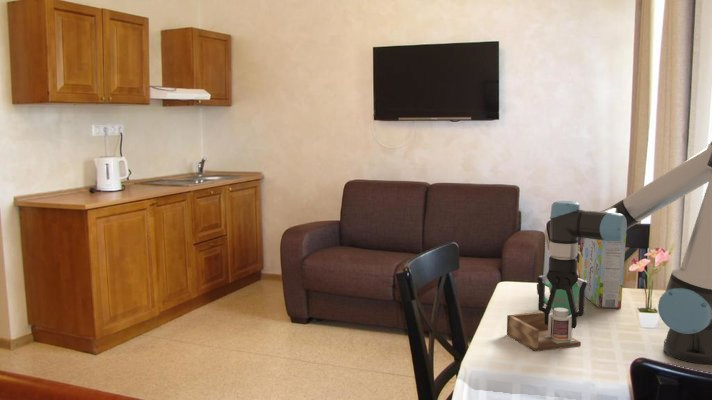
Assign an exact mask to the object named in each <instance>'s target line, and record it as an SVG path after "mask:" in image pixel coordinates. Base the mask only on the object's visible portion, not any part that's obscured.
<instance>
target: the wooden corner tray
mask: <svg viewBox="0 0 712 400" xmlns="http://www.w3.org/2000/svg"><path fill="white" fill-rule="evenodd" d="M550 312H552V313H553V312H554V310H553V309H551V311H550ZM553 315H554V313H553ZM506 317H507V318H506V336H507V335H508V337H509V336H510V337H509V338H511V339H512V338H513V339H512V340H514V339H515V340H514V341H516V342H517V341H518V342H517V343H519V344H520V345H523V346H524V347H525V348H527V349H529V350H531V351H533V352H535V353H536V352H541V351H550V350H557V349H563V348H565V349H566V348H572V347H580V346H581V341H580V340H578V339H576V338H574V337H572V339H571V340H565V341H559V340H555V339H553V338H552V337H548V325H546V324H545V313H544V312H542V311H535V312H534V311H533V312H524V313H515V314H507V316H506Z"/></svg>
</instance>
